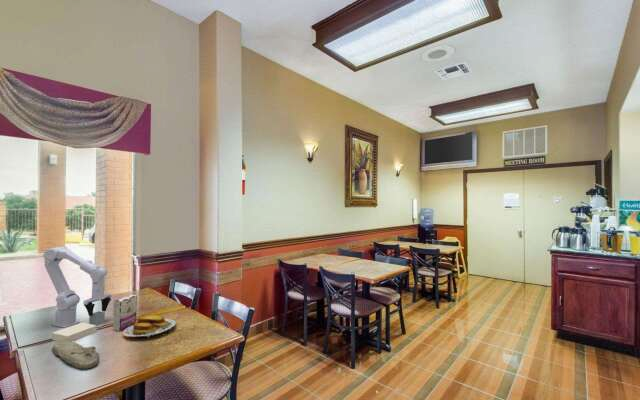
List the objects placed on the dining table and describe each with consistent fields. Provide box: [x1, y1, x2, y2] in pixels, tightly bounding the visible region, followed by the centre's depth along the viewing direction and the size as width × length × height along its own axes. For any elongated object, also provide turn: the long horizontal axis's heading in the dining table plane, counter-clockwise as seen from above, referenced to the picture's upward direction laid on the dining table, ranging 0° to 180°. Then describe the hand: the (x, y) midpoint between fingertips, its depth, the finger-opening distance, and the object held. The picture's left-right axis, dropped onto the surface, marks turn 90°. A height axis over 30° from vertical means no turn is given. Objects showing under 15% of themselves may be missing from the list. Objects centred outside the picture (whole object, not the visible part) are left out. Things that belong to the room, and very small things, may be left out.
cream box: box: [51, 322, 98, 342], centre depth 153 cm, size 11×14×4 cm
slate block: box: [88, 311, 106, 327], centre depth 169 cm, size 5×5×6 cm
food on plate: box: [122, 314, 177, 340], centre depth 162 cm, size 25×25×7 cm
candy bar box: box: [112, 294, 138, 332], centre depth 166 cm, size 11×5×16 cm, turn 168°
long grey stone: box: [51, 340, 100, 370], centre depth 133 cm, size 35×5×10 cm
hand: (97, 313), depth 169 cm, fingers open, 7 cm apart
